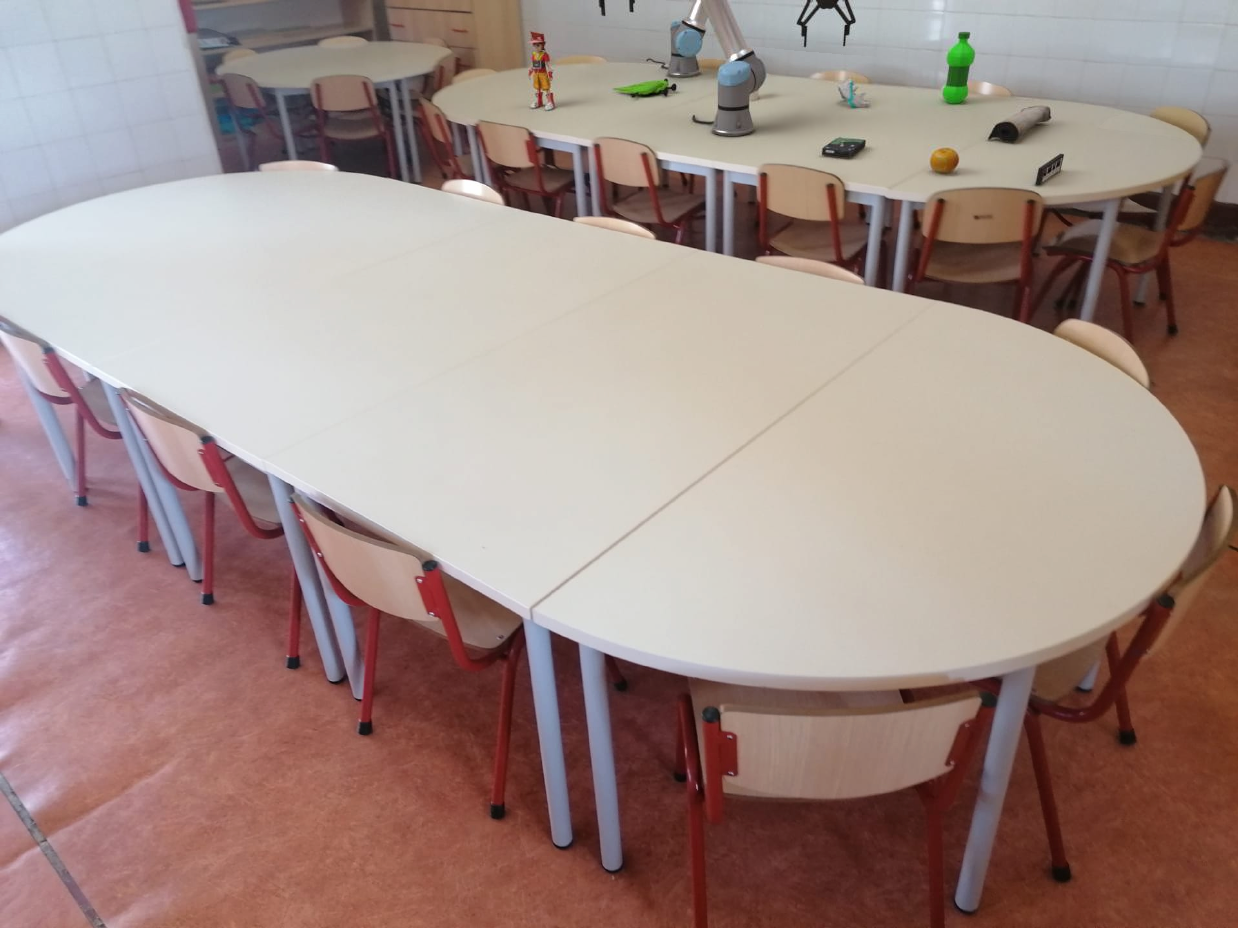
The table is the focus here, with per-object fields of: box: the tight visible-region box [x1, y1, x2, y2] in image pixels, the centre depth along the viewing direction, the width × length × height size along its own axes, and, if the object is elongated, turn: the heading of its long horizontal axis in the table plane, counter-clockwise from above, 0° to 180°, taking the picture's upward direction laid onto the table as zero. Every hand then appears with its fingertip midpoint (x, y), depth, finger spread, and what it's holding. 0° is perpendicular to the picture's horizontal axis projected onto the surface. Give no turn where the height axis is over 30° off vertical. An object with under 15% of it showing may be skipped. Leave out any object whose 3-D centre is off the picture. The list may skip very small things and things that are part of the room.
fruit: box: [929, 147, 960, 174], centre depth 283 cm, size 8×8×8 cm
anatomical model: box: [837, 78, 871, 108], centre depth 358 cm, size 15×10×10 cm
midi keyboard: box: [1035, 153, 1065, 186], centre depth 273 cm, size 18×1×5 cm, turn 138°
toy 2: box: [612, 78, 677, 99], centre depth 396 cm, size 28×5×30 cm
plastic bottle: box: [942, 31, 976, 104], centre depth 348 cm, size 10×10×25 cm
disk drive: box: [821, 136, 867, 159], centre depth 307 cm, size 10×3×15 cm
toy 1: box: [527, 31, 556, 111], centre depth 374 cm, size 12×9×30 cm
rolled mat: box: [987, 105, 1052, 144], centre depth 315 cm, size 30×9×10 cm
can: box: [749, 88, 760, 102], centre depth 375 cm, size 7×7×9 cm
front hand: (824, 46), depth 318 cm, fingers open, 13 cm apart
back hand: (617, 14), depth 394 cm, fingers open, 13 cm apart
